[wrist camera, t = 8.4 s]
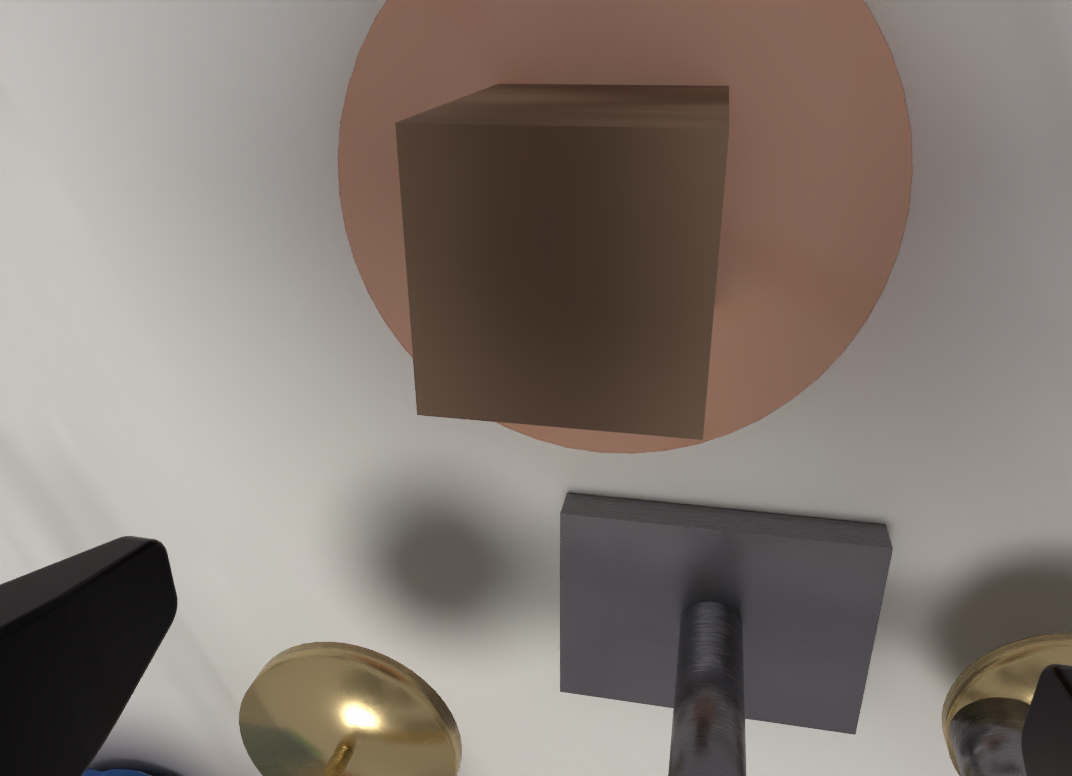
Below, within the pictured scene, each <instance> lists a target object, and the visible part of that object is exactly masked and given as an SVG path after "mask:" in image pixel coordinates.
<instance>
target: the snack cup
mask: <svg viewBox="0 0 1072 776" xmlns="http://www.w3.org/2000/svg"><path fill="white" fill-rule="evenodd" d="M82 776H152V775H149V774H146V773H143V772H141V771H134V770H130V769H129V770H124V769H111V770H106V771H103V772H102V771H98V770H94V769H88V770H85V772H84V773H83V775H82Z"/></svg>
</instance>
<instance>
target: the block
mask: <svg viewBox="0 0 1072 776" xmlns="http://www.w3.org/2000/svg"><path fill="white" fill-rule="evenodd" d="M395 127H396V141H397V154H398V167H399V180H400V193H401V206H402V219H403V233H404V246H405V259H406V272H407V285H408V298H409V311H410V325H411V338H412V351H413V364H414V377H415V390H416V403H417V415H424V416H435V417H447V418H458V419H470V420H481V421H492V422H504V423H515V424H527V425H538V426H549V427H561V428H572V429H584V430H595V431H606V432H618V433H629V434H641V435H652V436H663V437H675V438H686V439H697V440H703V433H704V422H705V410H706V398H707V386H708V375H709V363H710V351H711V339H712V328H713V316H714V304H715V292H716V280H717V269H718V257H719V245H720V233H721V222H722V210H723V198H724V186H725V174H726V163H727V151H728V139H729V86H690V85H590V84H496V85H493V86H491V87H488V88H485V89H483V90H480V91H478V92H475V93H472V94H470V95H467V96H464V97H462V98H459V99H456V100H454V101H451V102H449V103H446V104H443V105H441V106H438V107H435V108H433V109H430V110H427V111H425V112H422V113H420V114H417V115H414V116H412V117H409V118H406V119H404V120H401V121H398V122H396V123H395Z"/></svg>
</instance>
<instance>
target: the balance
mask: <svg viewBox="0 0 1072 776" xmlns="http://www.w3.org/2000/svg"><path fill="white" fill-rule="evenodd" d="M892 549H893V548H892V545H891V541H890V538H889V534H888V531H887V528H886V525H880V524H870V523H860V522H850V521H840V520H830V519H820V518H810V517H800V516H790V515H780V514H770V513H760V512H750V511H740V510H730V509H720V508H710V507H700V506H690V505H680V504H670V503H660V502H650V501H640V500H630V499H620V498H610V497H600V496H590V495H580V494H571V493H567V495H566V498H565V501H564V504H563V507H562V510H561V513H560V692H567V693H574V694H580V695H587V696H594V697H601V698H608V699H615V700H622V701H629V702H635V703H642V704H649V705H656V706H663V707H670V708H674V710H673V723H672V736H671V749H670V762H669V775H668V776H746V747H745V719H752V720H759V721H766V722H773V723H780V724H787V725H793V726H800V727H807V728H814V729H821V730H828V731H835V732H842V733H848V734H855V733H856V728H857V723H858V718H859V714H860V709H861V704H862V699H863V694H864V689H865V684H866V679H867V674H868V669H869V664H870V659H871V654H872V649H873V644H874V639H875V634H876V629H877V624H878V619H879V614H880V609H881V604H882V599H883V594H884V589H885V584H886V579H887V574H888V569H889V564H890V559H891V554H892ZM1051 664H1063V665H1070V666H1072V633H1057V634H1048V635H1040V636H1035V637H1031V638H1026V639H1022V640H1019V641H1016V642H1013V643H1009V644H1007V645H1004V646H1002V647H1000V648H998V649H995V650H993V651H991V652H990V653H988V654H986V655H984V656H983V657H981V658H980V659H978V660H977V661H976V662H974V663H973V664H971V665H970V666H969V667H968V668H967V669H966V670H965V671H964V672H963V673H962V674H961V675H960V676H959V677H958V678H957V680H956V681H955V682H954V684H953V685H952V687H951V689H950V690H949V692H948V694H947V696H946V699H945V702H944V705H943V711H942V728H943V733H944V737H945V741H946V744H947V748H948V751H949V755H950V758H951V760H952V763H953V765H954V767H955V769H956V770H957V772H958V774H959V775H960V776H1026V773H1025V768H1024V763H1023V758H1022V749H1021V736H1022V730H1023V726H1024V723H1025V720H1026V717H1027V713H1028V710H1029V707H1030V704H1031V701H1032V698H1033V695H1034V692H1035V689H1036V686H1037V683H1038V680H1039V677H1040V674H1041V672H1042V671H1043V669H1044V668H1045V667H1046V666H1048V665H1051ZM239 725H240V732H241V736H242V740H243V743H244V746H245V748H246V750H247V752H248V755H249V756H250V758H251V760H252V761H253V763H254V765H255V766H256V767H257V769H258V770H259V771H260V773H261V774H262V775H263V776H457V773H458V771H459V768H460V763H461V758H462V744H461V737H460V733H459V730H458V727H457V724H456V722H455V720H454V718H453V716H452V713H451V712H450V710H449V709H448V707H447V706H446V704H445V702H444V701H443V700H442V699H441V697H440V696H439V695H438V694H437V693H436V691H435V690H434V689H433V688H432V687H431V686H430V685H429V684H427V683H426V682H425V681H424V680H423V679H422V678H421V677H419V676H418V675H417V674H416V673H414V672H413V671H412V670H410V669H408V668H407V667H405V666H404V665H402V664H401V663H399V662H397V661H395V660H393V659H391V658H389V657H388V656H385V655H383V654H380V653H378V652H376V651H373V650H370V649H367V648H363V647H360V646H356V645H351V644H346V643H337V642H314V643H307V644H302V645H298V646H295V647H291V648H289V649H287V650H285V651H283V652H281V653H279V654H278V655H276V656H275V657H273V658H272V659H271V660H270V661H269V662H268V663H267V664H266V665H265V666H264V667H263V669H262V670H261V672H260V673H259V675H258V676H257V678H256V679H255V680H254V682H253V683H252V685H251V686H250V688H249V689H248V691H247V692H246V693H245V696H244V698H243V700H242V703H241V708H240V712H239Z"/></svg>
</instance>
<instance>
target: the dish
mask: <svg viewBox="0 0 1072 776" xmlns="http://www.w3.org/2000/svg"><path fill="white" fill-rule="evenodd" d="M496 84H590V85H690V86H729V139H728V151H727V163H726V174H725V186H724V198H723V210H722V222H721V233H720V245H719V257H718V269H717V280H716V292H715V304H714V316H713V328H712V339H711V351H710V363H709V375H708V386H707V398H706V410H705V422H704V433H703V440H697V439H686V438H675V437H663V436H652V435H641V434H629V433H618V432H606V431H595V430H584V429H572V428H561V427H549V426H538V425H527V424H515V423H504V422H497V423H499V424H501V425H503V426H505V427H507V428H509V429H512V430H514V431H517V432H519V433H522V434H524V435H527V436H530V437H532V438H535V439H538V440H541V441H545V442H549V443H553V444H556V445H560V446H564V447H567V448H574V449H581V450H587V451H594V452H605V453H643V452H655V451H666V450H671V449H676V448H681V447H686V446H691V445H696V444H700V443H703V442H706V441H709V440H712V439H715V438H718V437H721V436H724V435H727V434H730V433H732V432H734V431H736V430H739V429H741V428H743V427H745V426H747V425H749V424H751V423H753V422H756V421H758V420H760V419H762V418H763V417H765V416H767V415H768V414H770V413H771V412H773V411H775V410H776V409H778V408H779V407H781V406H783V405H784V404H786V403H787V402H789V401H791V400H792V399H793V398H794V397H796V396H797V395H798V394H799V393H801V392H802V391H803V390H804V389H805V388H807V387H808V386H809V385H810V384H812V383H813V382H814V381H815V380H817V379H818V378H819V377H820V376H821V375H822V374H823V373H824V372H825V371H826V370H827V369H828V367H829V366H830V365H831V364H832V363H833V362H834V361H835V360H836V359H837V358H838V357H839V356H840V355H841V354H842V353H843V352H844V351H845V349H846V348H847V346H848V345H849V344H850V342H851V341H852V340H853V338H854V337H855V336H856V334H857V333H858V332H859V330H860V329H861V328H862V326H863V325H864V323H865V322H866V321H867V319H868V317H869V315H870V313H871V312H872V310H873V308H874V306H875V304H876V303H877V301H878V299H879V297H880V295H881V294H882V292H883V290H884V288H885V286H886V283H887V281H888V278H889V275H890V273H891V270H892V268H893V265H894V263H895V260H896V258H897V255H898V253H899V249H900V245H901V241H902V237H903V233H904V229H905V224H906V220H907V216H908V211H909V201H910V192H911V182H912V144H911V128H910V123H909V117H908V111H907V106H906V100H905V95H904V90H903V86H902V83H901V80H900V77H899V74H898V71H897V68H896V65H895V62H894V59H893V56H892V53H891V50H890V48H889V46H888V44H887V42H886V40H885V38H884V36H883V34H882V32H881V30H880V28H879V26H878V24H877V22H876V20H875V18H874V16H873V14H872V12H871V11H870V9H869V8H868V6H867V5H866V3H865V2H864V1H863V0H387V1H386V3H385V4H384V6H383V7H382V9H381V10H380V12H379V13H378V15H377V16H376V18H375V20H374V22H373V25H372V27H371V29H370V31H369V33H368V35H367V37H366V39H365V41H364V43H363V45H362V47H361V49H360V51H359V54H358V57H357V60H356V63H355V66H354V69H353V72H352V75H351V78H350V81H349V84H348V88H347V93H346V97H345V102H344V107H343V112H342V117H341V122H340V136H339V149H338V172H339V193H340V200H341V206H342V212H343V217H344V223H345V229H346V232H347V236H348V239H349V243H350V246H351V249H352V253H353V256H354V260H355V263H356V265H357V267H358V270H359V272H360V274H361V277H362V279H363V281H364V284H365V286H366V288H367V291H368V293H369V295H370V297H371V298H372V300H373V302H374V304H375V305H376V307H377V309H378V311H379V312H380V314H381V316H382V318H383V319H384V321H385V323H386V324H387V325H388V327H389V328H390V330H391V331H392V332H393V334H394V335H395V336H396V338H397V339H398V340H399V342H400V343H401V345H402V346H403V347H404V349H405V350H406V351H407V352H408V353H409V354H410V355H411V356H412V357H413V351H412V338H411V325H410V311H409V298H408V285H407V272H406V259H405V246H404V233H403V219H402V206H401V193H400V180H399V167H398V154H397V141H396V127H395V123H396V122H398V121H401V120H404V119H406V118H409V117H412V116H414V115H417V114H420V113H422V112H425V111H427V110H430V109H433V108H435V107H438V106H441V105H443V104H446V103H449V102H451V101H454V100H456V99H459V98H462V97H464V96H467V95H470V94H472V93H475V92H478V91H480V90H483V89H485V88H488V87H491V86H493V85H496Z"/></svg>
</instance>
